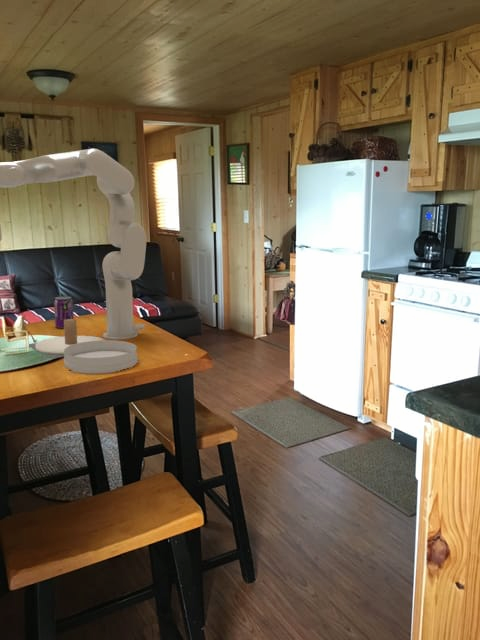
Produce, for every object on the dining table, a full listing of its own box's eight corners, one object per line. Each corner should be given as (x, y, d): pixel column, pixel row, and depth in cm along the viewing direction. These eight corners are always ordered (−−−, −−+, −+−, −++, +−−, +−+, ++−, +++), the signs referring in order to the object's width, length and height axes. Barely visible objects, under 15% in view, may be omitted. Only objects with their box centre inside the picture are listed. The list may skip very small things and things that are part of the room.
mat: (87, 336, 203) (87, 335, 203) (117, 348, 186) (117, 347, 186) (25, 346, 188) (25, 344, 188) (52, 360, 171) (51, 358, 171)
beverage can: (70, 329, 215) (69, 299, 213) (52, 328, 216) (51, 298, 213) (76, 325, 222) (74, 296, 220) (59, 325, 222) (57, 296, 220)
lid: (87, 335, 203) (86, 311, 201) (117, 347, 186) (117, 321, 184) (25, 344, 188) (23, 318, 186) (51, 358, 171) (50, 330, 169)
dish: (148, 367, 165) (148, 351, 164) (75, 379, 154) (74, 361, 153) (123, 351, 184) (122, 337, 183) (55, 360, 172) (54, 345, 171)
